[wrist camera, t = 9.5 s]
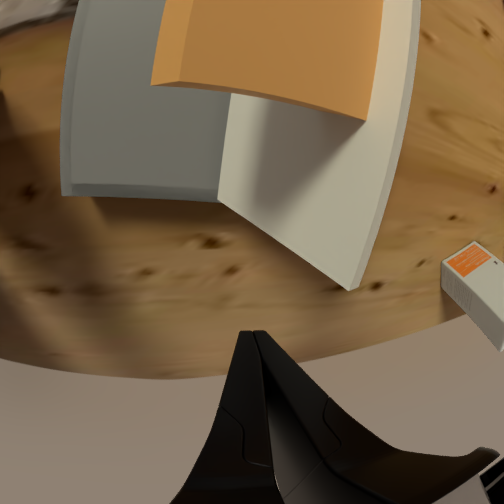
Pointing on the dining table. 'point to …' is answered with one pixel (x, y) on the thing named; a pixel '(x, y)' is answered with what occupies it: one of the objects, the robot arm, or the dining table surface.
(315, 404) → the robot arm
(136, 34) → the carton
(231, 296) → the dining table surface
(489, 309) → the skincare box
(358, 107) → the lid flap
